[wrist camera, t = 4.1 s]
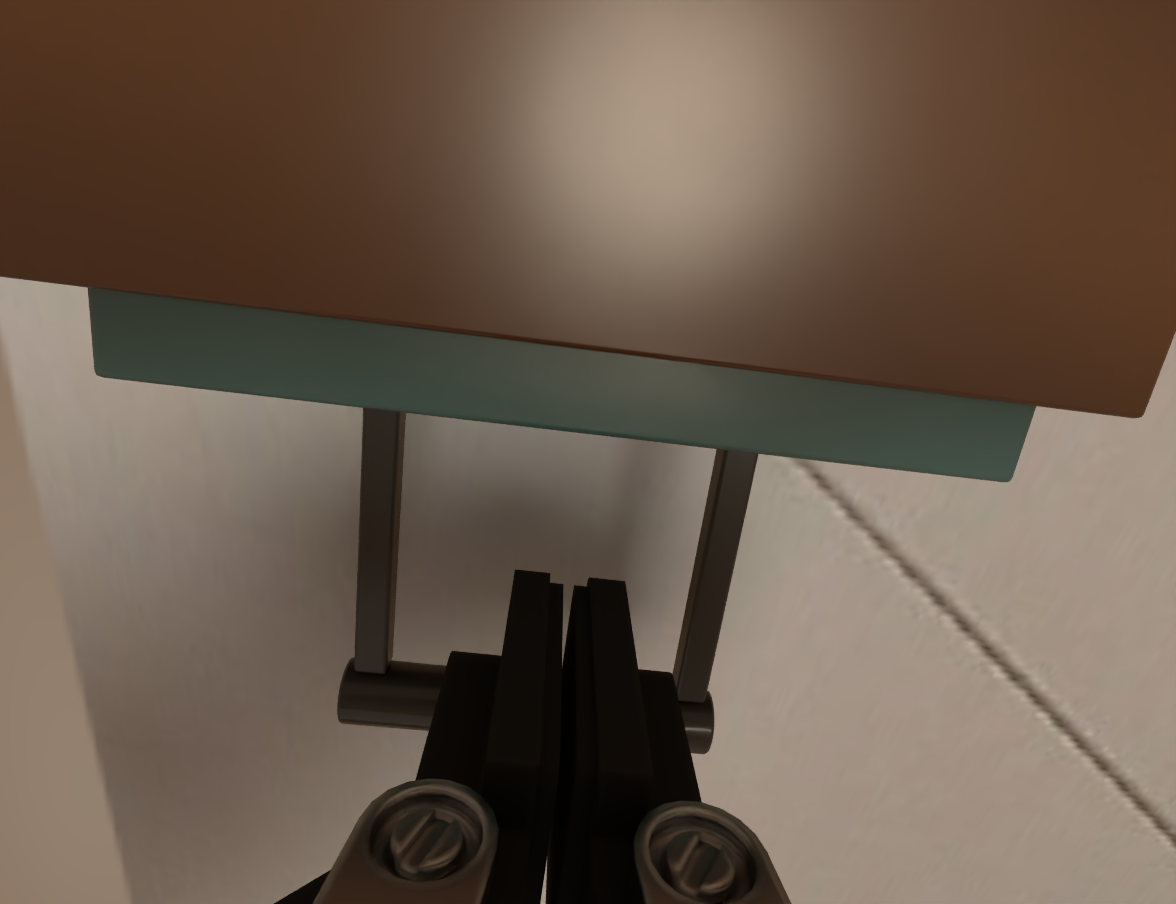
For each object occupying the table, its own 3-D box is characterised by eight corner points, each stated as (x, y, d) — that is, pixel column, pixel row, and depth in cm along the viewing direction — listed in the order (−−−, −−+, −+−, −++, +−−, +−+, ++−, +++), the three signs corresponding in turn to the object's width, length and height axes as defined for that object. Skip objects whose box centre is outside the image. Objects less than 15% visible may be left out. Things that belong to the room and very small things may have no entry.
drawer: (756, 640, 18) (873, 898, 11) (301, 596, 18) (130, 846, 11) (1005, -420, 12) (1608, -1280, 5) (312, -568, 11) (-98, -1842, 4)
